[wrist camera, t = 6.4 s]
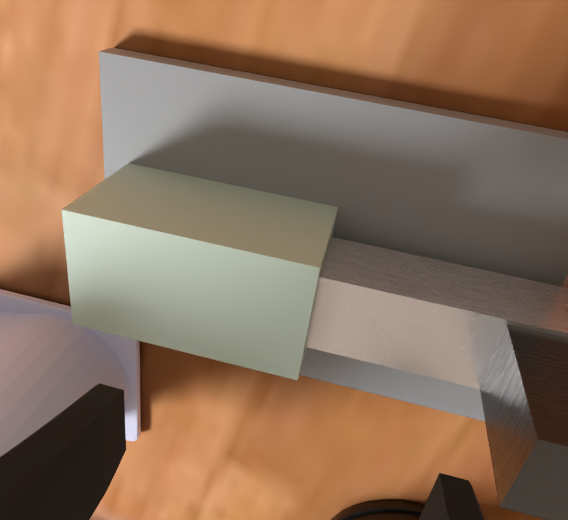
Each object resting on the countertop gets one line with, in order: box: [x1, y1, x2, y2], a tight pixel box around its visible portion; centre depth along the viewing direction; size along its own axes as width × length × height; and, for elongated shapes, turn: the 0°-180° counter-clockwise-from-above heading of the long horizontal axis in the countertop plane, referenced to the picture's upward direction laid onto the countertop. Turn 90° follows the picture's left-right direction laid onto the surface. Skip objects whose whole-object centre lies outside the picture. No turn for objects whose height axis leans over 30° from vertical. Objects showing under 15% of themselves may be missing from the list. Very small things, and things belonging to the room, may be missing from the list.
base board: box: [99, 48, 568, 421], centre depth 20 cm, size 22×12×1 cm, turn 83°
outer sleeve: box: [62, 163, 338, 381], centre depth 18 cm, size 8×4×4 cm, turn 82°
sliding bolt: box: [305, 237, 568, 520], centre depth 16 cm, size 14×3×7 cm, turn 83°
